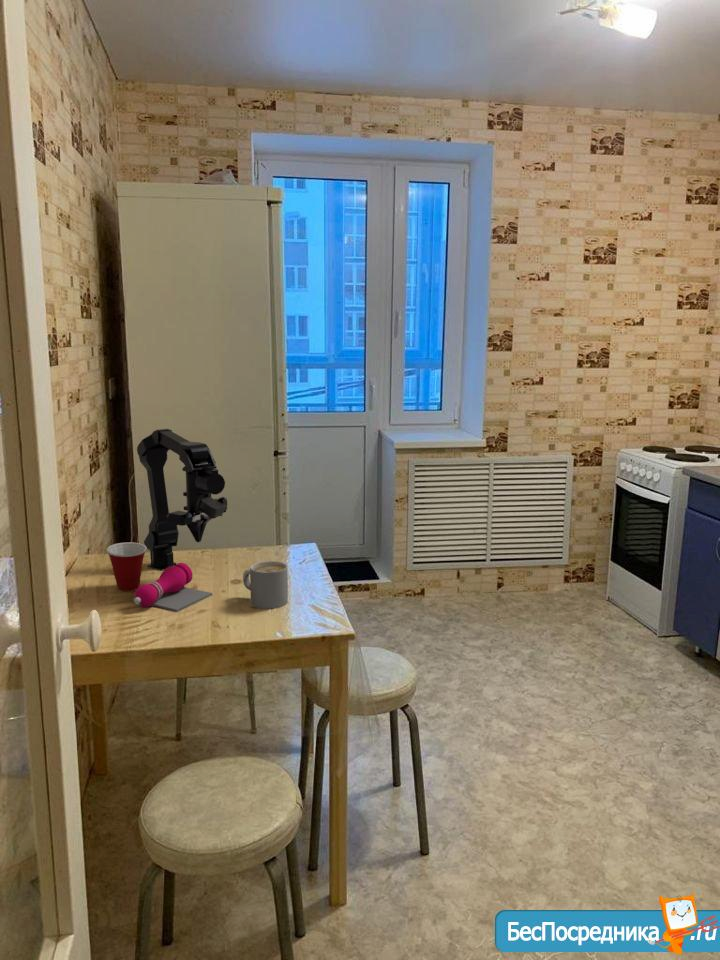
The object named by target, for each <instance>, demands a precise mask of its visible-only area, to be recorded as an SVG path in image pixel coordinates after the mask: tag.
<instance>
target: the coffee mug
mask: <svg viewBox="0 0 720 960" xmlns="http://www.w3.org/2000/svg"><path fill="white" fill-rule="evenodd" d="M288 573H289V572H288V565H287V564H286V563H284V562H282V561H278V560H277V561H276V560H265V561H263V560H262V561H258V562H256V563H253V564H251V565H250V568H247V569H246V570H244V571H243V574H242V582H243V585H244V587H245V588H246V589H247V590H249V591H250V603H251V606H253V607H255V608H257V609H264V610H265V609H266V610H269V609H271V610H272V609H278V608H281V607H284V606H286V605H287V604H288V603H289V602H288V601H289V599H288V598H289V594H288V593H289V587H288V586H289V585H288V584H289V582H288V579H289V578H288V577H289V576H288Z"/></svg>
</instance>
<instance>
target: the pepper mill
mask: <svg viewBox="0 0 720 960" xmlns="http://www.w3.org/2000/svg"><path fill="white" fill-rule="evenodd" d="M193 574H194V573H193V571H192V569H191V567H190V566H189V565H187V564H186V563H184V562H179V563H176V565H174V566H170V567H168V568H166V569H164V570H162V572H161V573H160V576H159V578H158V579H156V580H155V581H153V580H152V581H150V582H147V583H143V584H141V585H139V587H138V588H137V589H135V590H134V597H133V598H135V599H134V601H133V602H134V604H135V605H139V606H140V607H143V608H148V607H152V606H151V605H153V604H154V603H155V602H156V600H158V599H159V598H161V596H162V594H164V593H169V592H177V591H179V590H181V589H183V588H184V587H186V585H187V584H189V583H191V581H192V580H193Z"/></svg>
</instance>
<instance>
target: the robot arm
mask: <svg viewBox="0 0 720 960" xmlns="http://www.w3.org/2000/svg"><path fill="white" fill-rule="evenodd" d="M136 451H137V455H138V460H139V462H140V463H141V465H142V466H143V467H144V469H145V470H146V475H147V481H148V488H149V489H148V490H149V498H150V506H151V513H152V517H151V520H150V522H149V524H148V533H147V535H146V537H145V539H144V541H143V545H145V546H146V547H147V550H148V551H149V552H150V554H149V555H150V564H147V566H146V567H147V568H149V569H150V568H152V569H155V570H160V571H164V570H165V569H166V568H168V567H170V566H175V565H176V564H177V562H174V552H173V547H177V546H178V540H179V534H180V533H179V529H178V526H186V527H187V528H188V529H189V531H190V533H191V535H192V537H193V539H194V541H195V543H196V542H197V543H201V541H202V538H203V535H204V533H205V528H206V526H207V524H208V523H209V522H210V521H211V520H213V519H216V518H219V517H222V516H223V513H224V514H225V513H227V510H228V500H227V498H226V497H225V496H222V497H219V498H213V497H212V495H218V494H221V493H222V492H223V490H224V489H225V486H226V480H225V479H224V476H223V475H222V474H219V469H218V468H217V465H216V464H217V462H216V460H215V458H214V457H213V454H212V451H211V449H210V448H209V446H208V445H207V444H206V443H203V442H199V441H198V442H197V441H189V440H188V439H186V438H185V437H182V436H180V435H179V434H177V433H175V432H173V430H172V429H169V428H162V429H155V430H153V431H152V432H151V434H149V435H148V436H145V437H144V438H143V439H141V441H140V442H139V444H138V445H137V447H136ZM169 451H171V452H173V453H174V454H175V453H176V454H177V455H178V456H179V457H178V459H179V461H180V462H181V463H183V465H184V466H183V468H181V469H182V471H183V472H185V486H186V487H185V491H183V492H182V495H183V497H186V505H183V511H181V510H176V511H172V512H170V509H169V504H168V494H167V489H166V487H167V486H166V479H165V473H164V471H165V470H164V467H165V465H166V463H167V461H168V452H169Z"/></svg>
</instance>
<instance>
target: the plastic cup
mask: <svg viewBox="0 0 720 960" xmlns="http://www.w3.org/2000/svg"><path fill="white" fill-rule="evenodd" d="M147 550H148V549H147V547H146V546H145V545H144V543H139V542H133V541H132V542H131V541H130V542H119V543H113V544H112V545H109V546H108V547H107V548H106V553H107V555H108V556H109V560H110V562H111V566H112V567H111V568H112V571H113V574H114V575H113V576H114V579H115V582H116V587H117V589H118V590H119V591H122V592H129V591H130V592H131V591H136V589H137V588H138V587H139V586H141V585H140V584H141V577H142V570H143V562H144V557H145V553H146V551H147Z"/></svg>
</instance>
